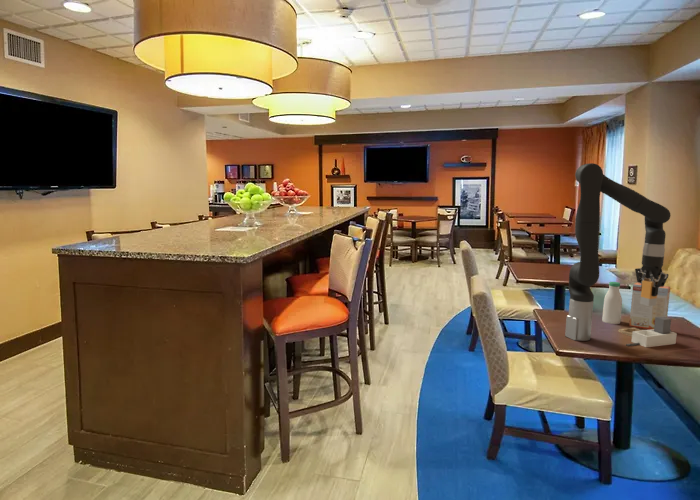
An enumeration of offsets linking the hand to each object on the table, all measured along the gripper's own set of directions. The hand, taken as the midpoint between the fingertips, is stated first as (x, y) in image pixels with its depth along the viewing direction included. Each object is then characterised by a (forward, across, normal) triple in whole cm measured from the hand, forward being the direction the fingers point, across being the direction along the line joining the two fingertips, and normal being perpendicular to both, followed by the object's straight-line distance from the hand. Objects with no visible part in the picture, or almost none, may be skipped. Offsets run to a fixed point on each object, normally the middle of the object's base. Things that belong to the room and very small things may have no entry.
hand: (649, 294), depth 196 cm
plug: (+4, 0, 0) cm, 4 cm away
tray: (+21, -9, +5) cm, 24 cm away
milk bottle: (+21, -27, +11) cm, 36 cm away
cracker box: (+21, -15, +19) cm, 32 cm away
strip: (+21, +2, 0) cm, 21 cm away
